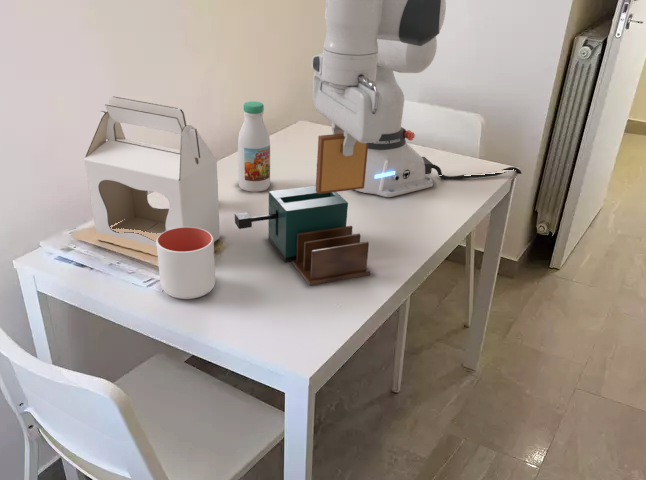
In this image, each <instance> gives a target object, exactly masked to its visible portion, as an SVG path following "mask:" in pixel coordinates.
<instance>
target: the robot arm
mask: <svg viewBox="0 0 646 480" xmlns="http://www.w3.org/2000/svg"><path fill="white" fill-rule="evenodd" d="M446 1H447V0H325V4H324V5H325V6H324V22H325V27H326V28H325V29H326V33H325V38H324V40H323V46H322V53H319V54H315V55H313V56H312V57H311V69H312V70H313V75H312V103H313V108H314V110H315V111H316V112H317V113H319V114H320V115H322V116H323V117H325V118H326V120H329V122H331V124H330V125H331V131H332V134H343V133H344V136H345V139H344V142H343V144H341V151H340V152H341V153H342V154H343V155H344V156H351V155H353V149H354V145H355V143H356V141H359V142H360V143H368V152H367V162H366V173H365V183H364V189H355V190H354V191H356V192H360V193H364V194H372V195H376V196H381V197H384V198H392V197H397V196H400V195H405V194H409V193H412V192H417V191H422V190H425V189H429V188H432V187H433V186H434V180H433V178H432V177H431V176H430V175H431V174H432V171H433V169H434V170H436V172H437V175H438V177H439V178H440V179H442V180H451V181H452V180H453V181H455V180H463V179H476V178H478V179H479V178H489V177H496V176H500V175H502V174H506V172H504V173H495V174H485V175H471V176H464V175H465V174H459V175H453V176H452V175H451V176H450V175H445V174H443V172H442V168H441V167H440V166H438V165H436V164H433V162H431V161H430V160H429V159H428V158H427V157H426V156H421V155H420V153H418V152H417V151H416V150H415V149H414V148H413V147H412V146H411V145H409V144H408V143H407V141H406V139H407V140H408V141H409V142H411V141H413V140H414V139H415V137H416V134H415V133H414V131H411V130H410V129H408V130H407V129H406V128H404V127H402V123H403V114H404V105H405V94H404V91H403V89H402V88H401V86H400V85H399V84H398V82H397V80H396V76H395V74H394V73H395V72H396V73H399V74H419V73H422V72H424V71H425V70H426V69H428V68H429V67H430V66H431V64H432V62H433V61H434V59H435V56H436V54H437V48H438V39H437V36H438V35H439V34H440V33H441V30H442V27H443V26H444V22H445V17H446V9H447V8H446V7H447V6H446V5H447V2H446ZM513 169H514V171H513V172H515V173H516V174H517V175H521V174H522V171H521V170H520V169H519V168H518V167H516V166H509V167H506V168H503V169H502V170H513ZM515 170H516V171H515ZM442 174H443V175H442ZM439 175H442V176H439Z"/></svg>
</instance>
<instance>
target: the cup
mask: <svg viewBox="0 0 646 480" xmlns="http://www.w3.org/2000/svg"><path fill="white" fill-rule="evenodd" d="M214 243H215V242H214V241H213V236H212V235H211V234H210V233H209V232H207V231H206V230H203V229H200V228H194V227H179V228H174V229H170V230H167V231H165V232H163V233H161V234H160V235H159V236H158V237H157V239H156V246H157V255H158V257H157V263H158V264H157V265H158V273H159V274H158V275H159V281H160V282H159V284H160V287H161V290H162V291H163V292H164V293H165V294H167V295H169V296H170V297H173V298H176V299H181V300H192V299H197V298H201V297H203V296H205V295H207V294H209V293H210V292H211V291H212V290H213V289H214V287H215V284H216V266H215V264H216V263H215V245H214Z"/></svg>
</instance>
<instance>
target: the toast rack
mask: <svg viewBox="0 0 646 480" xmlns="http://www.w3.org/2000/svg"><path fill="white" fill-rule="evenodd" d="M353 228H354V227H353V225H346V226H345V227H339V228H332V229H325V230H319V231H312V232H305V233H299V234H297V256H296V260H292V261H291V264H292V265H293V267H294V268H295V269H296V270H297V272H298V273H299V274H300V275H301V277H302V278H303V279H304V280H305V281H306V283H307V284H308V286H315V285H321V284H325V283H326V284H327V283H332V282H337V281H338V282H339V281H343V280H349V279H354V278H360V277H365V276H370V275H371V270H370V269H369V268H368V258H369V257H368V256H369V246H370V242H369V241H368V240H367V241H361V233H360V232H359V233H353Z"/></svg>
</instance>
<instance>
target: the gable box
mask: <svg viewBox="0 0 646 480" xmlns="http://www.w3.org/2000/svg"><path fill="white" fill-rule="evenodd" d="M104 106H105V109H106V110H107V111H105V110H101V111H99V112H100V113H99V114H100V115H99V116H100V120H99V123H98V125H97V128H96V130H95V133H94V135H93V138H92V140H91V142H90V145H89V146H88V150H87V152H86V154H85V157H84V159H83V161H84V168H85V173H86V179H87V185H88V190H89V192H88V193H89V197H90V198H89V199H90V204H91V211H92V216H93V217H92V218H93V223H94V230H95V233H96V232H98V233H102V234H108V235H112V236H116V237H121V238H125V239H129V240H133V241H136V242H140V243H143V244H147V245H151V246H155V247H157V246H156V241H154V240H152V239H150V238H148V237H146V236H144V235H142V234H139V233H134V232H124V233H119V232H116V231H114V230H112V229H116V228H117V229H118V228H119V229H121V228H122V229H123V228H124V229H129V230H130V229H132V230H134V229H135V230H141V231H143V232H145V231H146V232H149V233H151V232H152V233H156V234H157V233H163V232H165V231H167V230H170V229H174V228H179V227H194V228H200V229H203V230H206V231H207V232H209V233H210V234H211V235H212V236H213V241H214V243H215V242H217V240H220V237H221V230H220V229H221V228H220V227H221V226H220V207H219V206H220V205H219V204H220V203H219V186H218V185H219V184H218V181H219V180H218V161H217V159H218V158H217V157H216V156H215V154H214V152H213V151H212V150H211V149H210V147H209V146H208V145H207V143H206V142H205V140H204V139H203V138H202V136H201V135H200V133H199V132H198V130H197V128H195V127H194V126H193V125H192V124H187V121H186V117H185V113H184V111H183V109H182V108H179V107H176V106H175V107H174V106H169V105H163V104H157V103H152V102H146V101H142V100H141V101H140V100H135V99H132V98H131V99H130V98H125V97H120V96H119V97H118V96H112V97H110V98H109V99H108V104H106V103H105V104H104ZM121 124H126V125H131V126H135V127H141V128H142V127H143V128H146V129H152V130H157V131H162V132H168V133H173V134H175V135H180V149H177V148H173V147H168V146H167V147H166V146H162V145H158V144H152V143H147V142H142V141H138V140H132V139H128V138H126V136H125V133H124V131H123V127H122V125H121ZM148 192H154V193H157V194H160V195H161V196H164V197H165V198H166V199H167V201H168V203H169V206H168V207H169V208H157V207H154V206H152V205H151V204H150V203H149V200H148ZM124 219H125V220H124ZM122 220H123V221H122ZM120 221H122V222H120ZM118 222H120V223H118ZM115 223H118V224H117V225H115V226H113V227H112V229H111V227H110V226H111V225H114V224H115Z"/></svg>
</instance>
